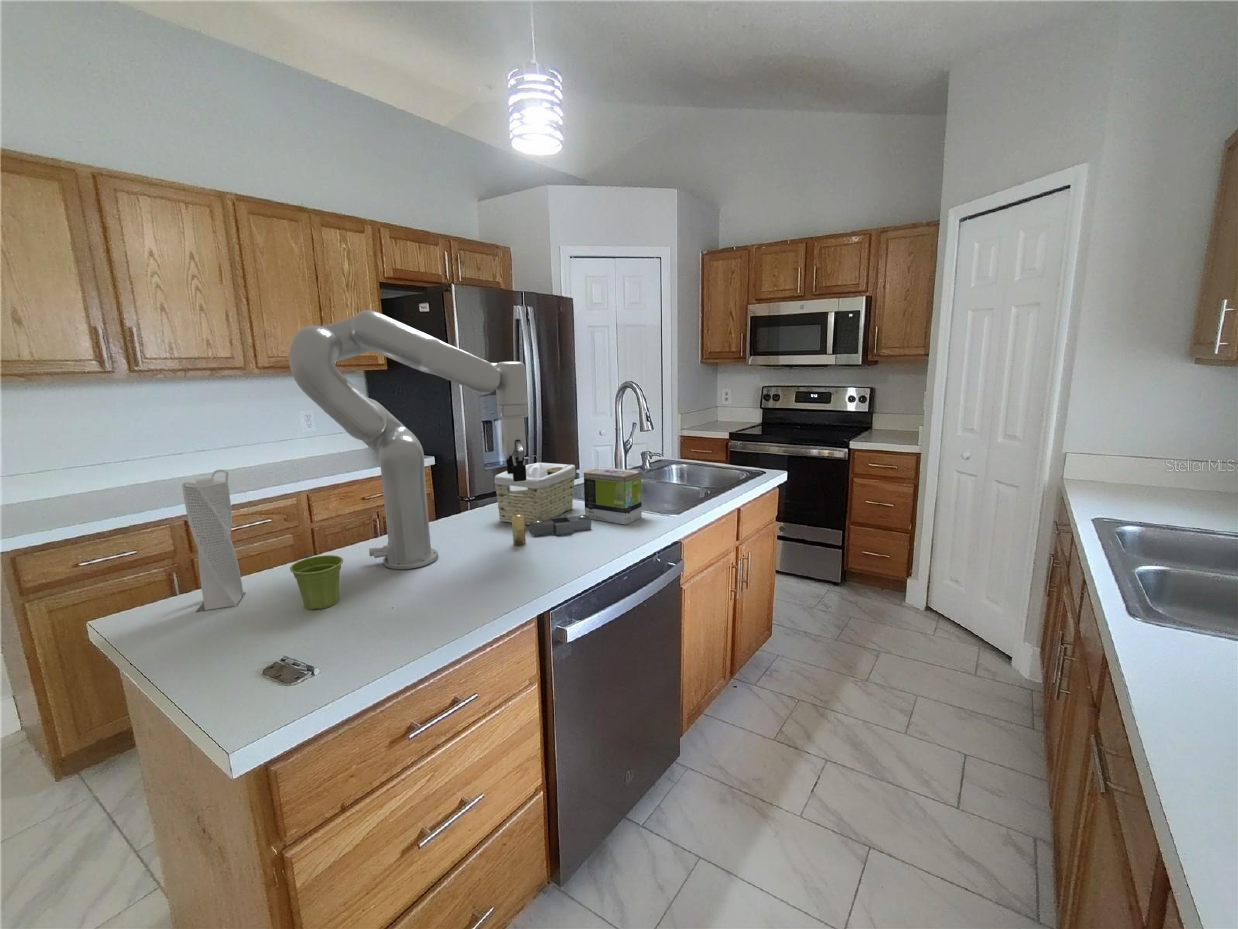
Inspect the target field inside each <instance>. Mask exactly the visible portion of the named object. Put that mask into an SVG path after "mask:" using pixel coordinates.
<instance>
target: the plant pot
mask: <svg viewBox="0 0 1238 929" xmlns="http://www.w3.org/2000/svg"><path fill="white" fill-rule="evenodd" d="M343 563H344V558H343V557H342V556H340V555H333V554H329V555H317V556H312V557H309V558H304V559H301V560H299V561H297V562H294V563H293V564H291V566H290V567H289V570H290V572H291V573H292V574H293V576H294V578H295V579H296V582H297V586H298V589H299V592H300V595H301V598H302V602H303V605H304V607H305V608H306V609H307V610H315V609H320V610H323V609H327V608H329V607H332V606H334V605H335V604H337V602H338V600H339V594H340V593H339V592H340V571H341V569H342V565H343Z"/></svg>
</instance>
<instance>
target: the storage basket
mask: <svg viewBox="0 0 1238 929" xmlns="http://www.w3.org/2000/svg"><path fill="white" fill-rule="evenodd" d="M525 465H526V480H525V481H516V482H515V481H514V480H513V474H508V473H507V470H506V471H502V472H500V473H498V474H495V476H494V484H495V486H494V487H495V493H496V497H497V499H496V500H497V501H496V502H497V507H498V516H499V520H500V521H501V522H503V523H504V522H506V523H511V524H512V515H513V514H517V513H522V514H524V520H525V525H527V526H530V521H534V520H545V519H549V517H556V516H562V514H564V513H565V512H567V511H569V510H572V508H573V506H574V504H573V503H574V502H573V501H574V492H575V491H574V490H575V478H576V466H575V464H565V463H550V462H535V463H530V464H525ZM548 473H551V474H548Z"/></svg>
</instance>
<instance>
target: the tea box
mask: <svg viewBox="0 0 1238 929" xmlns="http://www.w3.org/2000/svg"><path fill="white" fill-rule="evenodd" d="M583 489H584V490H583V491H584V492H583V494H584V515H587V516H588V517H589V518H590V519H591V520H596V521H600V522H601V521H602V522H607V523H614V524H621V525H629V524H631V523H633V522H635V521H638V520H639V519H641V518H642V516H643V514H642V512H643V511H642V509H643V506H642V505H643V504H642V503H643V501H642V497H643V496H642V494H643V493H642V471H641V470H636V469H632V470H631V469H625V468H624V469H623V468H614V467H604V466H601V467H598V468H593V469H590V470H587V471H584V472H583Z"/></svg>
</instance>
